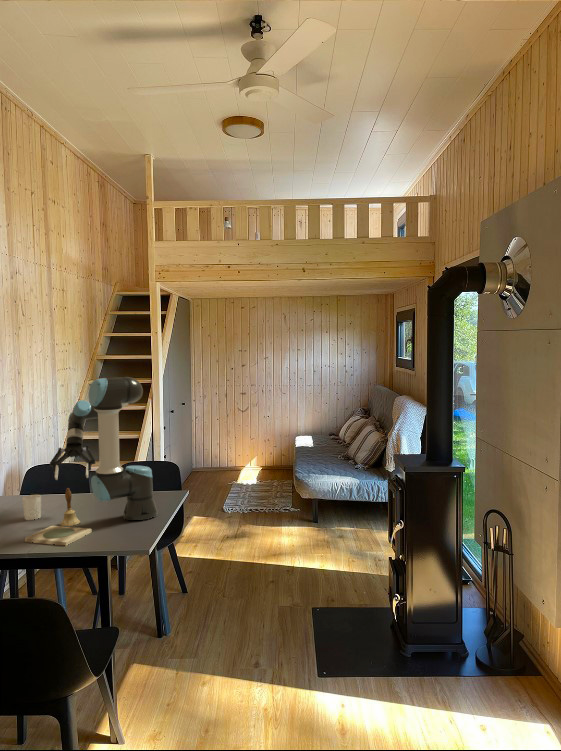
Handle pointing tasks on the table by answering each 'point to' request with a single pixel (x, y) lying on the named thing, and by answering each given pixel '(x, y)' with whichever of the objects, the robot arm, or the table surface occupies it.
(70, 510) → the hand bell
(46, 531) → the bell board
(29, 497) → the white cup
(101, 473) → the robot arm
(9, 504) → the table surface
